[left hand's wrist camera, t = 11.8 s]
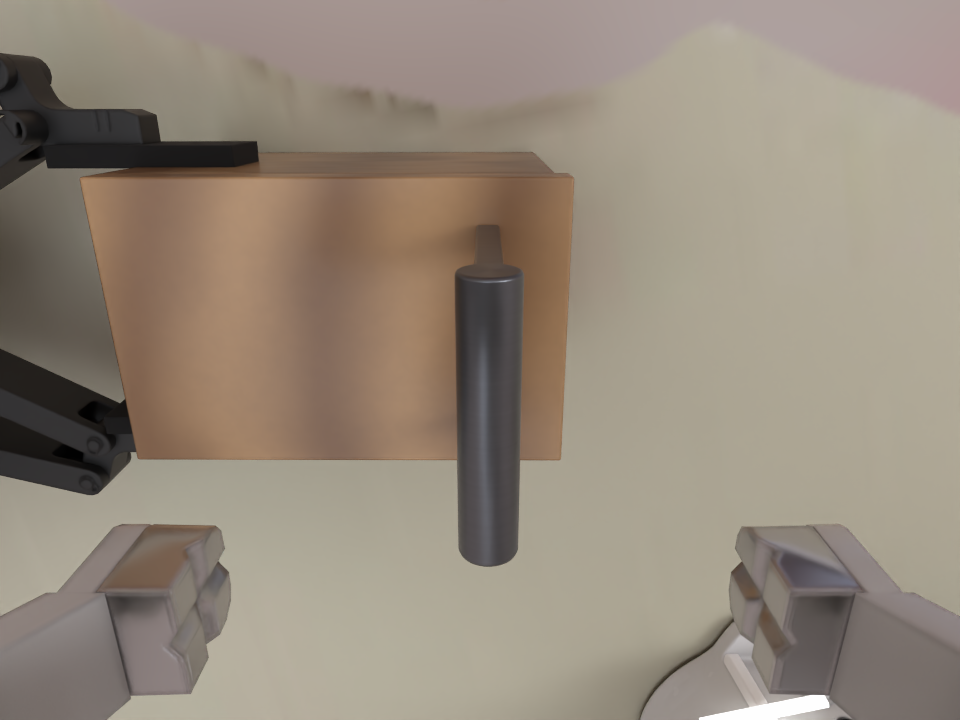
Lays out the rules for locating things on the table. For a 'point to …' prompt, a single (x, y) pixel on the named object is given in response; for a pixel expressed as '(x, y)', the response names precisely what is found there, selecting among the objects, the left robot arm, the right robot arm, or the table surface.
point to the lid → (344, 321)
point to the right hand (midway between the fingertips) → (262, 291)
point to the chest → (374, 163)
